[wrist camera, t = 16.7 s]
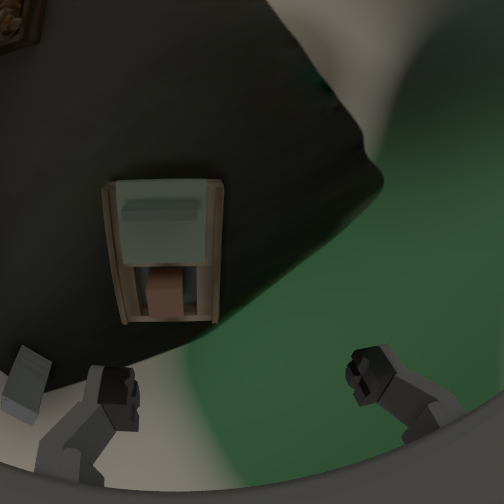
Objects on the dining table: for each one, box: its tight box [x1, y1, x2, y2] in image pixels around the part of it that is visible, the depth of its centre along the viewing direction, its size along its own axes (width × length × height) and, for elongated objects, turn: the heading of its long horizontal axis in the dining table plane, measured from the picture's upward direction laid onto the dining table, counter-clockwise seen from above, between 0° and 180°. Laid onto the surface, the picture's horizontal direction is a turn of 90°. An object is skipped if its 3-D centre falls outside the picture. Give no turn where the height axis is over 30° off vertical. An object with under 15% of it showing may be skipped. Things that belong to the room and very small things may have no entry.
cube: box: [146, 267, 184, 318], centre depth 38 cm, size 4×4×5 cm
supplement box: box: [1, 345, 52, 426], centre depth 39 cm, size 7×7×13 cm
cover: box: [115, 179, 207, 264], centre depth 32 cm, size 10×10×3 cm
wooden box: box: [101, 179, 224, 324], centre depth 37 cm, size 14×19×4 cm
